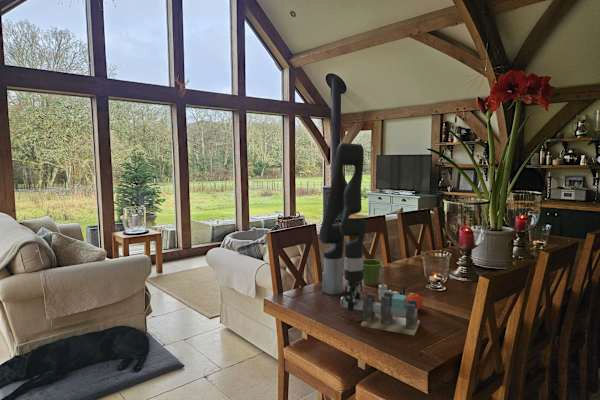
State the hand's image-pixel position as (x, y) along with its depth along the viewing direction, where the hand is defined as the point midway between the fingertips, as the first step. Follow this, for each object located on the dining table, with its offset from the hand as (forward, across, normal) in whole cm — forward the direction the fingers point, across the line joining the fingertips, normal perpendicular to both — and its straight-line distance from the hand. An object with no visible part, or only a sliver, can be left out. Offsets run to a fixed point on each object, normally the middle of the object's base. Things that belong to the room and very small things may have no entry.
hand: (354, 307), depth 158 cm
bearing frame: (+5, 0, +15) cm, 15 cm away
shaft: (+1, 0, +9) cm, 10 cm away
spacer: (-3, 0, +18) cm, 18 cm away
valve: (+5, -26, +9) cm, 28 cm away
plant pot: (+5, -45, -6) cm, 46 cm away
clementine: (+5, -19, +20) cm, 28 cm away
